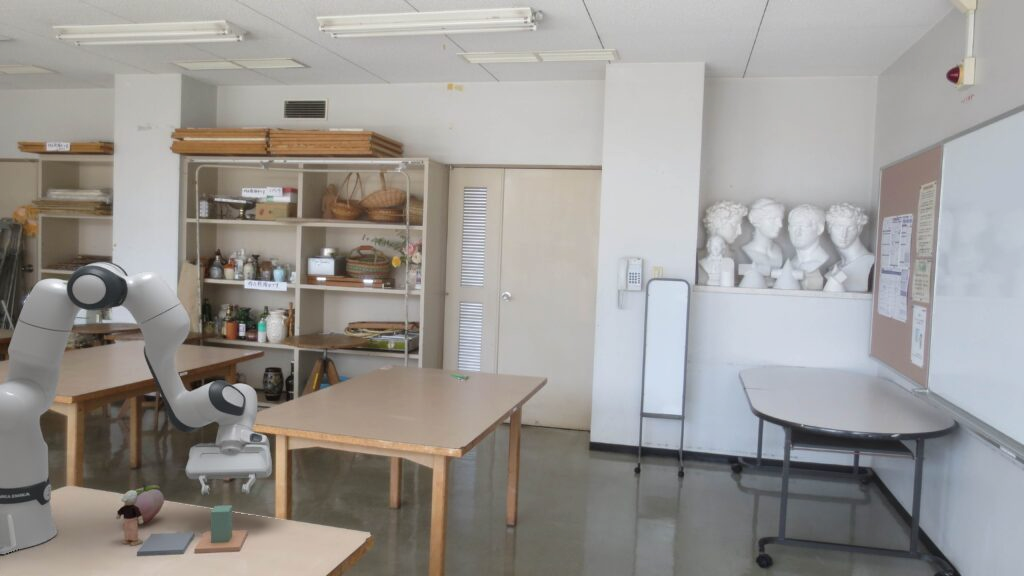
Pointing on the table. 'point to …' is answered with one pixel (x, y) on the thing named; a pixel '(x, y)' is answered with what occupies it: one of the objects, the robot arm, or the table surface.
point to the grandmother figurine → (130, 518)
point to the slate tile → (166, 543)
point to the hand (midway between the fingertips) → (225, 493)
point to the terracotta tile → (221, 543)
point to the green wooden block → (221, 524)
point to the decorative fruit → (149, 501)
